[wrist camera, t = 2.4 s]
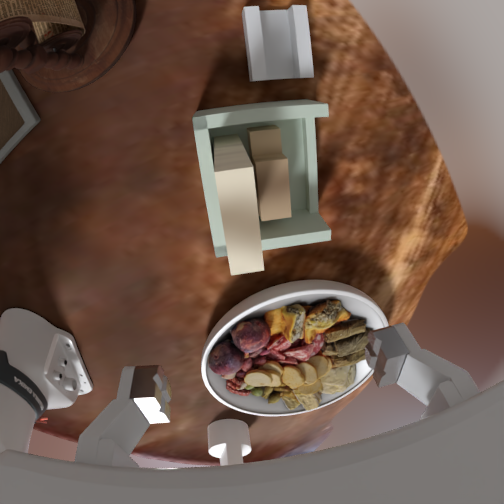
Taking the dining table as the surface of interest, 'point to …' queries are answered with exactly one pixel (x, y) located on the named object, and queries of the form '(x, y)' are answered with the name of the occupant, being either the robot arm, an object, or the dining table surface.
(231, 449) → the base with upright slab
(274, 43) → the holder
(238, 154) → the beige streaked board
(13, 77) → the framed board
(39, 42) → the scroll
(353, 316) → the bowl
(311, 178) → the box
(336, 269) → the dining table surface
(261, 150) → the offcut long
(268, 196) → the offcut short
